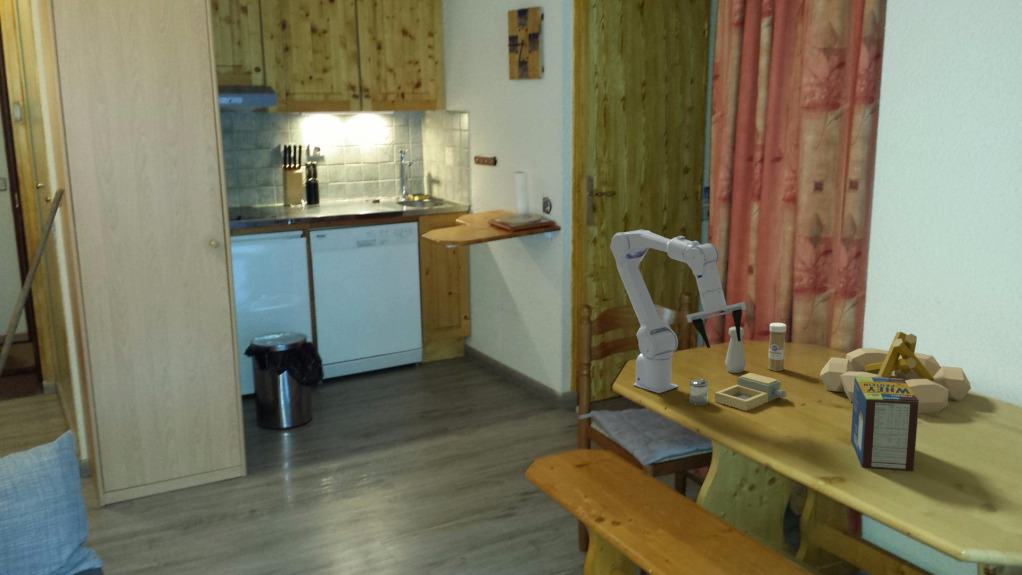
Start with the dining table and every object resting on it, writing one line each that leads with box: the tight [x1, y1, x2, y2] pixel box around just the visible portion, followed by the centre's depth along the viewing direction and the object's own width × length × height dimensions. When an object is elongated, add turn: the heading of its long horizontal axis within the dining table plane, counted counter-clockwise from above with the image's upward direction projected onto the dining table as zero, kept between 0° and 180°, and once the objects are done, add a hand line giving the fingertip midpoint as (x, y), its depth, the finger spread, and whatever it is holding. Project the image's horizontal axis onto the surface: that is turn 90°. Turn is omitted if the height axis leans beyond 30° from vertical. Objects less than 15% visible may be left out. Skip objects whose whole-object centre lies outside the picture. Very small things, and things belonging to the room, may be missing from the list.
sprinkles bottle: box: [767, 322, 787, 372], centre depth 246 cm, size 5×5×14 cm
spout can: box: [688, 378, 709, 406], centre depth 221 cm, size 5×5×6 cm
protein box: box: [850, 376, 919, 471], centre depth 185 cm, size 10×15×16 cm
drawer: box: [714, 372, 787, 412], centre depth 221 cm, size 12×15×5 cm
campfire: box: [819, 331, 972, 414], centre depth 224 cm, size 35×34×17 cm
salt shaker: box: [724, 326, 747, 374], centre depth 245 cm, size 6×6×13 cm
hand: (724, 344), depth 213 cm, fingers open, 7 cm apart
